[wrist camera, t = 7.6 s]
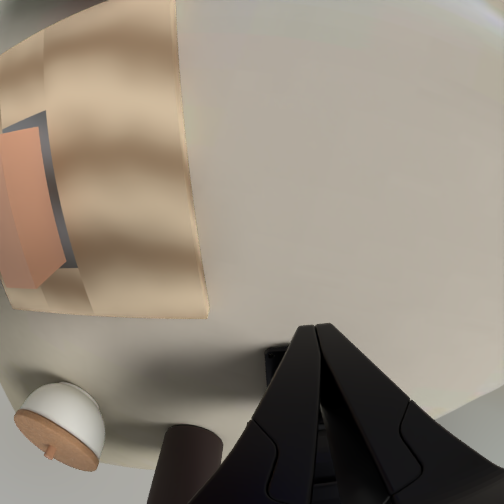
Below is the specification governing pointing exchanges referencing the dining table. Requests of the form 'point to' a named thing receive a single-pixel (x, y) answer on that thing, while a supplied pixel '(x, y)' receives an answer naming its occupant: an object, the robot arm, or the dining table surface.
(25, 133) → the t block
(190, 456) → the bottle
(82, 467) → the lidded jar
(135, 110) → the board
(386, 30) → the dining table surface
